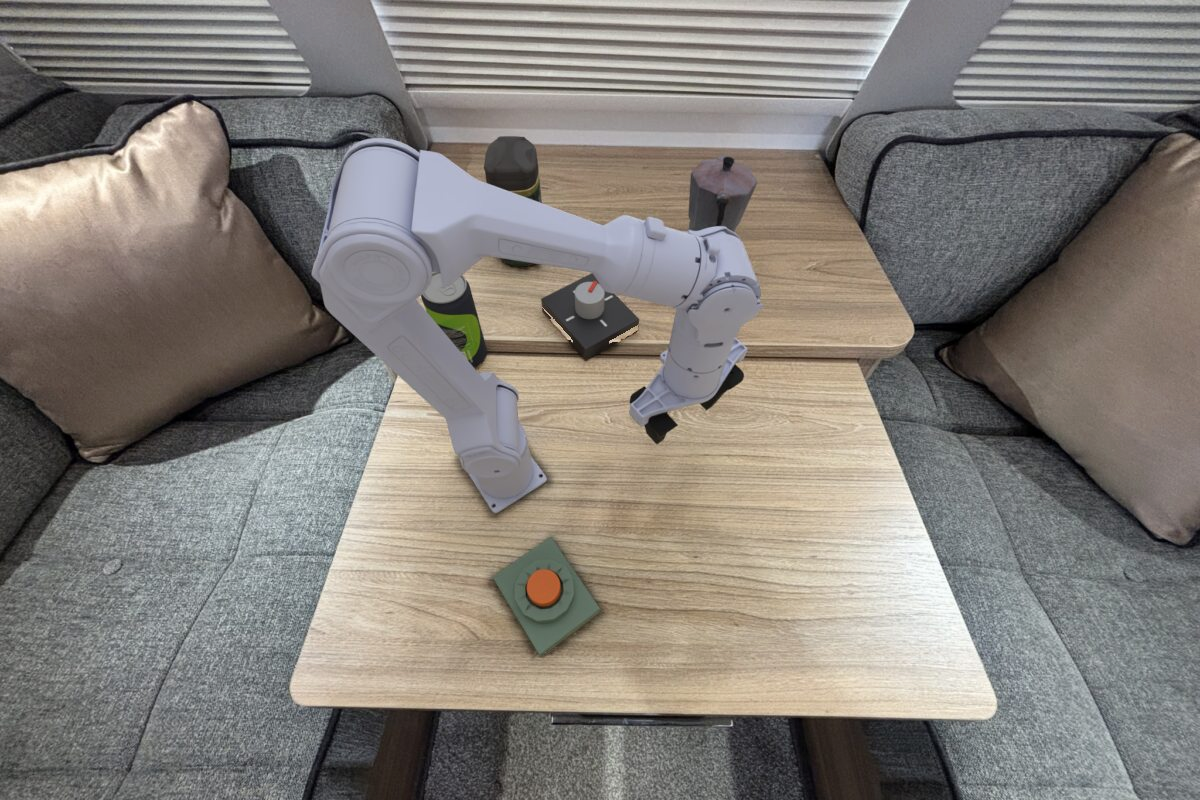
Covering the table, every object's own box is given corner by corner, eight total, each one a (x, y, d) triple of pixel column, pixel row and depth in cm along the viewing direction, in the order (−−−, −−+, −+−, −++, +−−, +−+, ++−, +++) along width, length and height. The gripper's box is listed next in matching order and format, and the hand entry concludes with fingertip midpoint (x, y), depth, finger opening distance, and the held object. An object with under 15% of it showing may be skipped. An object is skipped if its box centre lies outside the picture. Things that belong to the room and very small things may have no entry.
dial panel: (542, 311, 85) (540, 298, 82) (593, 285, 88) (593, 271, 85) (585, 361, 80) (585, 348, 77) (638, 331, 83) (639, 318, 80)
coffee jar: (545, 268, 90) (536, 169, 74) (498, 269, 89) (478, 170, 74) (546, 229, 95) (537, 129, 79) (501, 230, 94) (484, 129, 79)
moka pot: (729, 242, 94) (760, 134, 77) (732, 308, 86) (767, 203, 69) (675, 238, 94) (694, 129, 77) (673, 303, 86) (693, 197, 69)
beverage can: (496, 355, 80) (478, 284, 67) (464, 380, 77) (439, 311, 65) (469, 333, 82) (446, 260, 69) (437, 357, 79) (408, 286, 67)
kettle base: (495, 581, 62) (489, 572, 59) (552, 542, 65) (550, 531, 62) (540, 657, 58) (537, 653, 55) (600, 612, 61) (600, 605, 57)
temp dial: (596, 323, 80) (597, 306, 76) (570, 313, 80) (569, 296, 77) (608, 303, 82) (609, 285, 78) (582, 294, 83) (582, 276, 79)
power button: (522, 585, 59) (520, 582, 57) (549, 566, 60) (548, 562, 58) (539, 613, 57) (538, 610, 56) (567, 593, 58) (566, 590, 57)
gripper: (724, 291, 55) (701, 367, 66) (612, 357, 50) (608, 427, 62) (774, 334, 52) (741, 406, 63) (661, 409, 47) (647, 472, 59)
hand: (678, 419), depth 62 cm, fingers open, 7 cm apart
